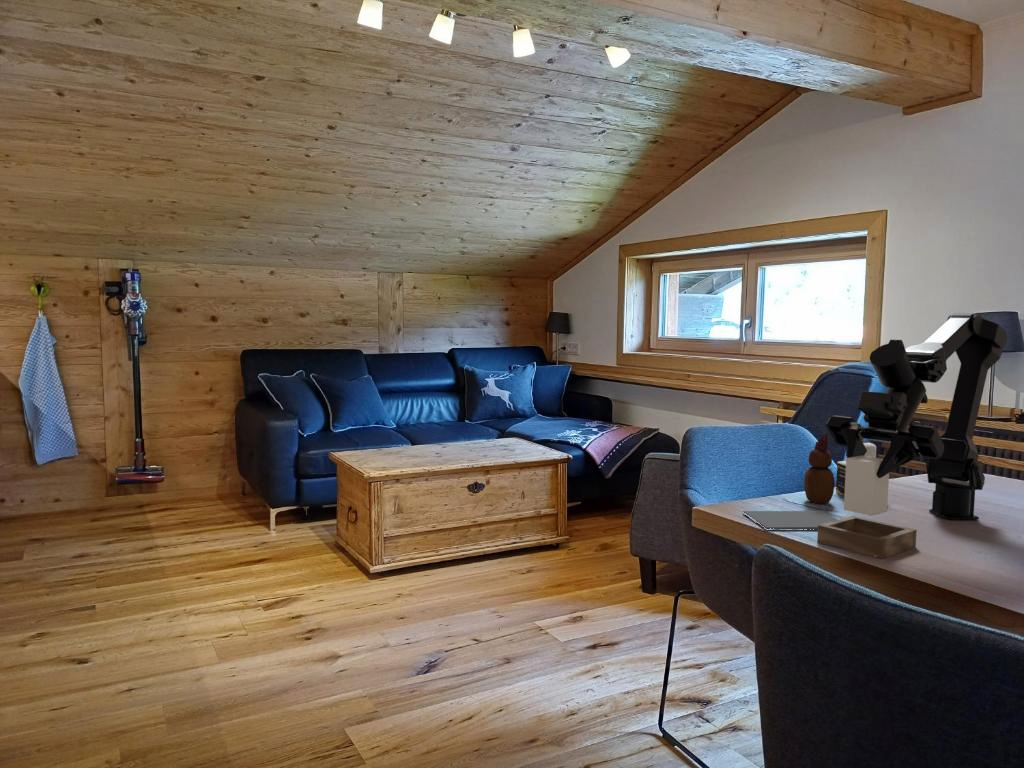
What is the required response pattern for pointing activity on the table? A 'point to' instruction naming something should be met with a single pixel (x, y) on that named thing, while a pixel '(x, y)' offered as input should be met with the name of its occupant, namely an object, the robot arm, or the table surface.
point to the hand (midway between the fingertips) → (862, 473)
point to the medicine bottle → (842, 467)
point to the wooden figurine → (819, 474)
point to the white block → (865, 486)
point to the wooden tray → (867, 536)
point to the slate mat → (791, 519)
